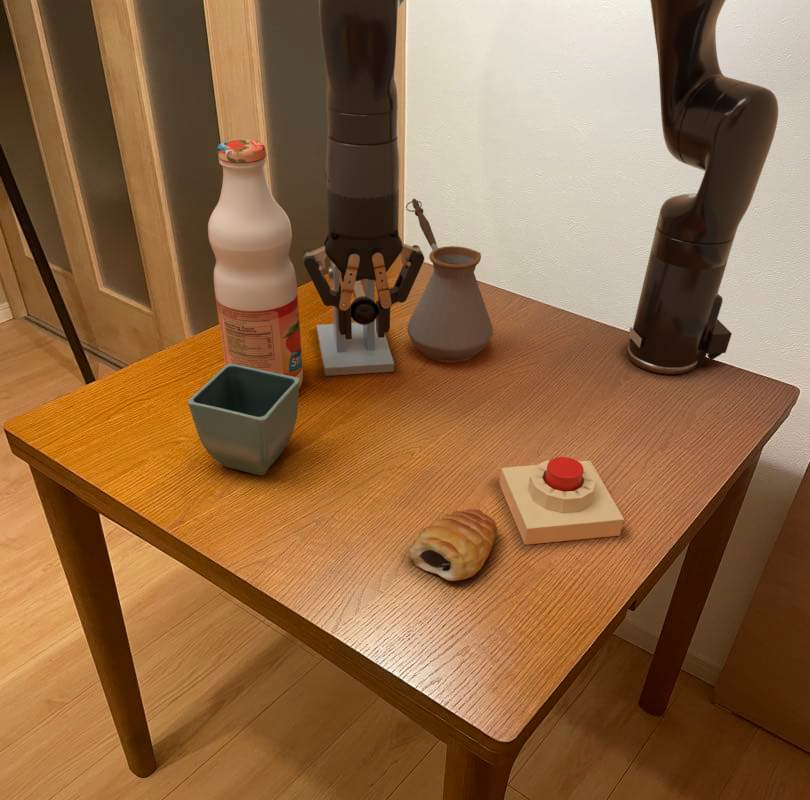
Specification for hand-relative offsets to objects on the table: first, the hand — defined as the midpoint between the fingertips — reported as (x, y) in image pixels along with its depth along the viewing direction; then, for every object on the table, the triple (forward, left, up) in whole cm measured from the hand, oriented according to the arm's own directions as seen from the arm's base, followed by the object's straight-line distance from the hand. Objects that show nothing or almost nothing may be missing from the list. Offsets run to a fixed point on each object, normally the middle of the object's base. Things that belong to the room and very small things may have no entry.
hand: (364, 334), depth 94 cm
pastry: (-5, +30, -8) cm, 32 cm away
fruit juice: (+12, -4, -8) cm, 15 cm away
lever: (0, -5, +1) cm, 6 cm away
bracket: (0, -11, -8) cm, 14 cm away
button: (-17, +25, -4) cm, 31 cm away
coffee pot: (-12, -15, -8) cm, 21 cm away
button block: (-17, +25, -8) cm, 31 cm away
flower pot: (+14, +12, -8) cm, 20 cm away
